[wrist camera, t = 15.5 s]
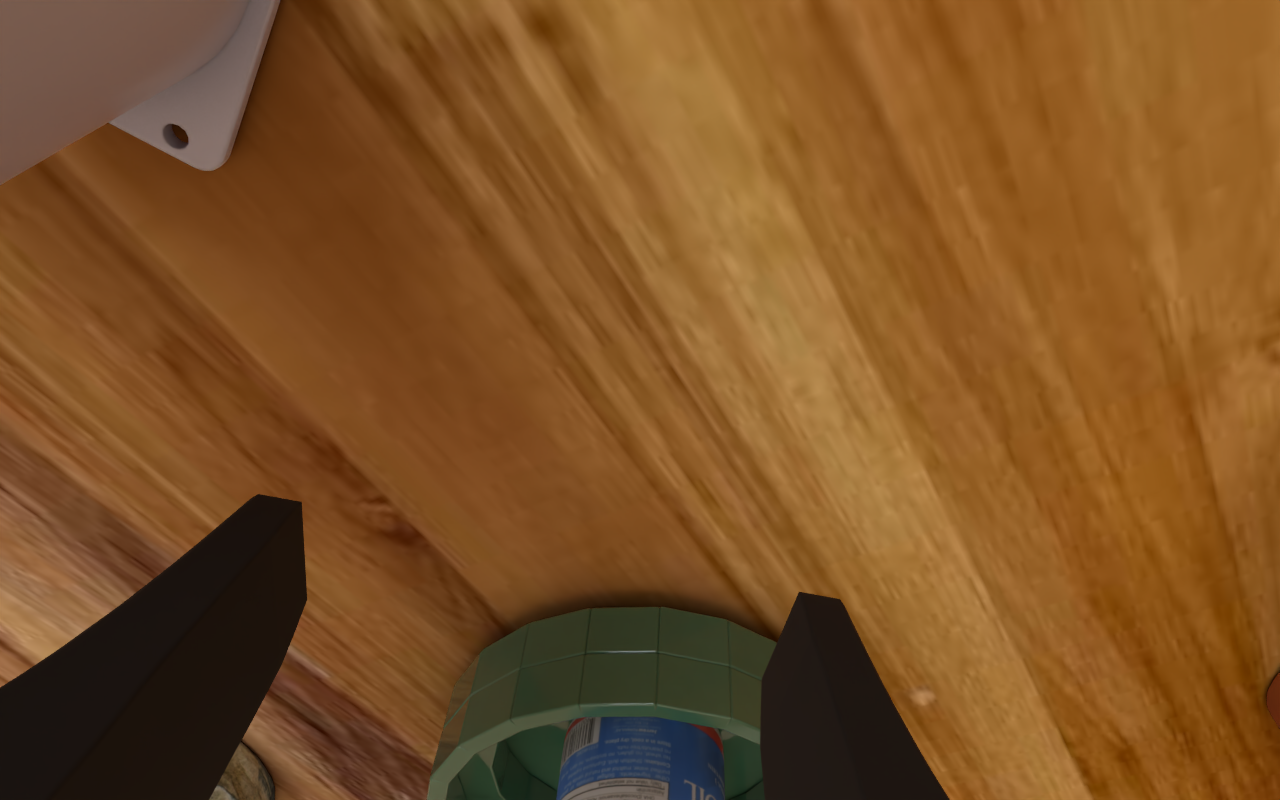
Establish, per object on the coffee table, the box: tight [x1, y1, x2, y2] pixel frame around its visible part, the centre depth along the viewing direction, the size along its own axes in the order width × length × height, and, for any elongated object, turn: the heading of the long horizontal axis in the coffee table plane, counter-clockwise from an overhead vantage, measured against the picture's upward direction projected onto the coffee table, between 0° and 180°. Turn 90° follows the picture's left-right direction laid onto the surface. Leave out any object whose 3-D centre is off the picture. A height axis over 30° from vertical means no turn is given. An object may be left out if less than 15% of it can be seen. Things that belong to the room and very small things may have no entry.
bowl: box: [426, 606, 777, 800], centre depth 28 cm, size 13×13×4 cm
